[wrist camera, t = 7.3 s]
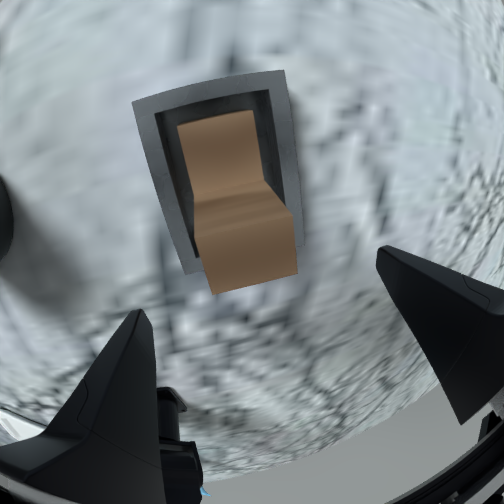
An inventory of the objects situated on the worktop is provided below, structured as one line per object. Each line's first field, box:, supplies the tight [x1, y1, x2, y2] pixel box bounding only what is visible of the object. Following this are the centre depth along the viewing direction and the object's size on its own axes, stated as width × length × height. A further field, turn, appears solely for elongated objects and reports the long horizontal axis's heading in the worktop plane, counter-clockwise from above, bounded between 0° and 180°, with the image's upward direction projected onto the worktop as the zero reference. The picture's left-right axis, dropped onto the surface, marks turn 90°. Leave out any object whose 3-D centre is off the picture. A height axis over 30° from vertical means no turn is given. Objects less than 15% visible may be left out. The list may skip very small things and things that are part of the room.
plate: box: [0, 409, 47, 441], centre depth 35 cm, size 25×25×2 cm
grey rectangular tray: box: [132, 70, 305, 275], centre depth 16 cm, size 11×8×2 cm
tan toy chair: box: [177, 109, 298, 295], centre depth 13 cm, size 7×4×7 cm, turn 9°
